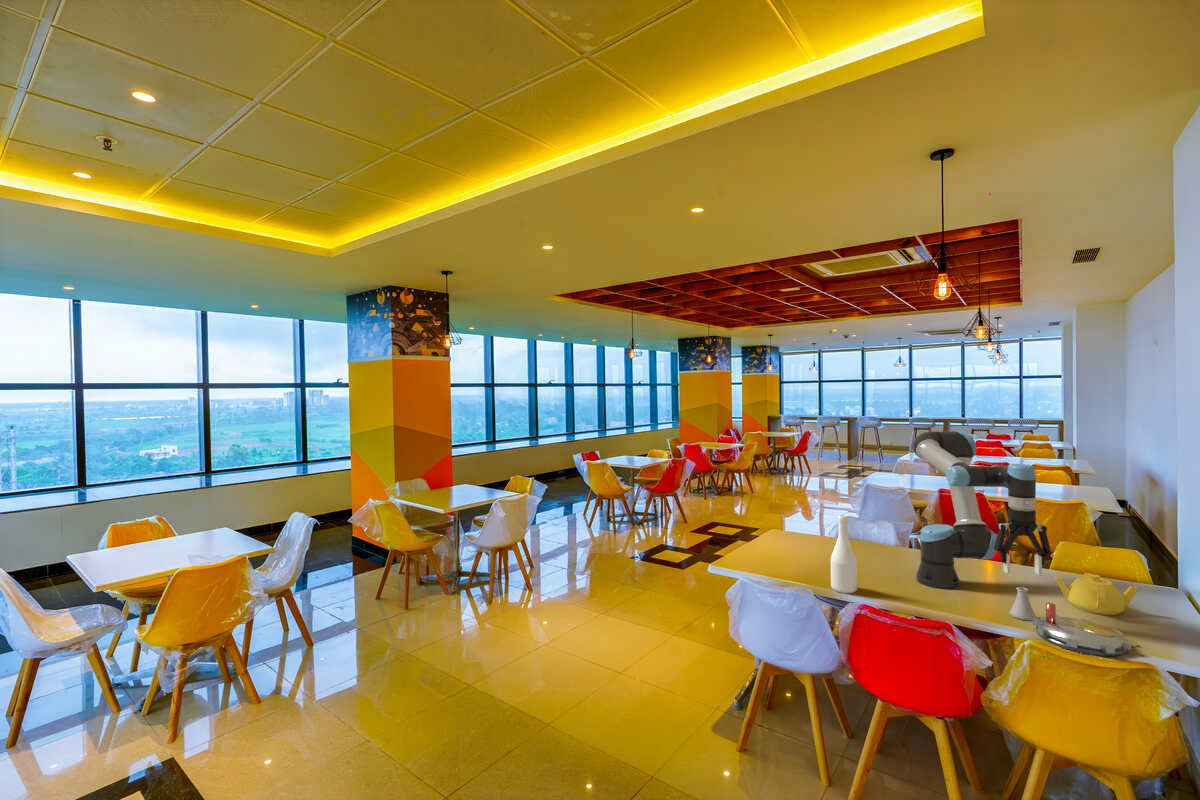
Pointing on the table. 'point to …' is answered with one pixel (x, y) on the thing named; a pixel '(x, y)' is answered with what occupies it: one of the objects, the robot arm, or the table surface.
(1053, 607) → the turntable
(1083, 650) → the base
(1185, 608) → the table surface
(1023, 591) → the flask
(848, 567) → the wine bottle
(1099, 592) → the teapot
